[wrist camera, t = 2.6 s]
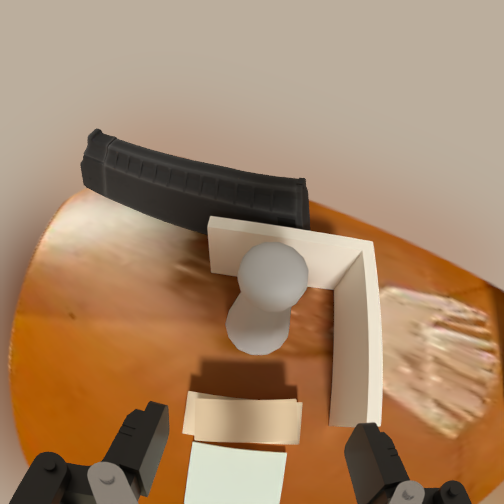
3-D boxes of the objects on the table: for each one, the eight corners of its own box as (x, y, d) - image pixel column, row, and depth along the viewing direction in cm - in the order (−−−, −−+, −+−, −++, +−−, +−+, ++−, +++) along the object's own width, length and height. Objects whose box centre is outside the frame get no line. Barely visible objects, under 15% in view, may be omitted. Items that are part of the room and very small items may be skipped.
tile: (285, 452, 20) (286, 452, 20) (274, 524, 16) (275, 526, 15) (193, 441, 20) (192, 441, 20) (183, 514, 16) (182, 516, 15)
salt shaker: (279, 365, 25) (320, 323, 14) (220, 353, 25) (214, 301, 14) (288, 310, 28) (326, 236, 17) (233, 299, 29) (238, 217, 18)
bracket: (343, 281, 31) (372, 241, 24) (340, 425, 22) (380, 426, 15) (213, 263, 31) (210, 215, 24) (183, 410, 22) (165, 409, 15)
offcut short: (290, 400, 22) (296, 398, 20) (291, 437, 20) (297, 440, 18) (198, 399, 21) (195, 398, 19) (197, 437, 19) (194, 440, 17)
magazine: (353, 199, 25) (92, 76, 21) (351, 223, 24) (71, 90, 19) (278, 269, 40) (96, 176, 35) (272, 288, 38) (83, 192, 34)
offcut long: (296, 403, 24) (302, 402, 22) (293, 442, 21) (299, 444, 20) (191, 392, 23) (188, 390, 22) (186, 431, 21) (182, 433, 19)
